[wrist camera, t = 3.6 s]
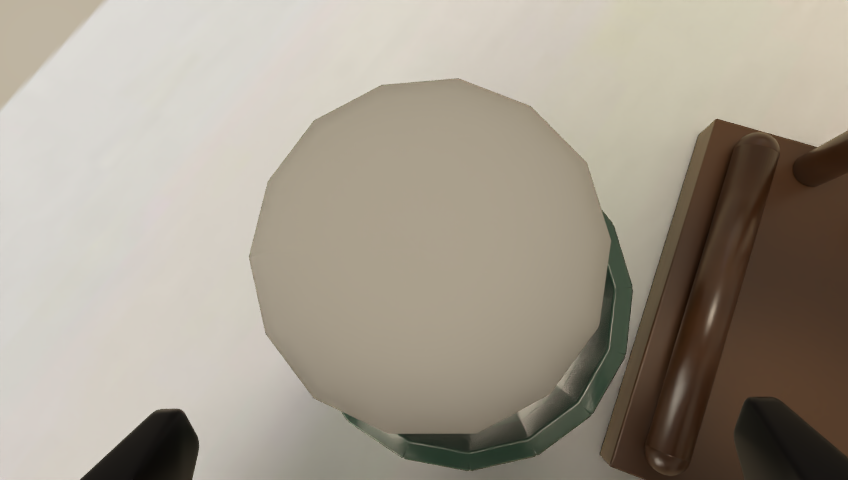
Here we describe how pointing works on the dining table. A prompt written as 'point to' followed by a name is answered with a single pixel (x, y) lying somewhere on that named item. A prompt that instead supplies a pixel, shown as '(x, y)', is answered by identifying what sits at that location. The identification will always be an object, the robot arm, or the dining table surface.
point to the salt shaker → (430, 258)
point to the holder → (547, 415)
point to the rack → (740, 307)
